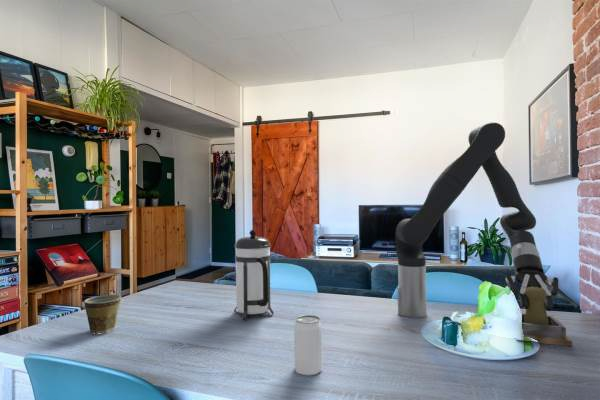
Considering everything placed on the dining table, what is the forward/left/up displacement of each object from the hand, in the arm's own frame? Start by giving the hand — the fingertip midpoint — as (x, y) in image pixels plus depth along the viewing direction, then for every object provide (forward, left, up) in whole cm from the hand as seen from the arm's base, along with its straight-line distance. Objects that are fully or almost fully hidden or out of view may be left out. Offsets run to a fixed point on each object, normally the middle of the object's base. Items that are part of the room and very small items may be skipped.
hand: (537, 308), depth 102 cm
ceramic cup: (-127, -36, -8) cm, 132 cm away
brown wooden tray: (0, +2, -8) cm, 8 cm away
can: (-56, -40, -8) cm, 69 cm away
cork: (0, +2, -6) cm, 6 cm away
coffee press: (-87, -7, -8) cm, 88 cm away
